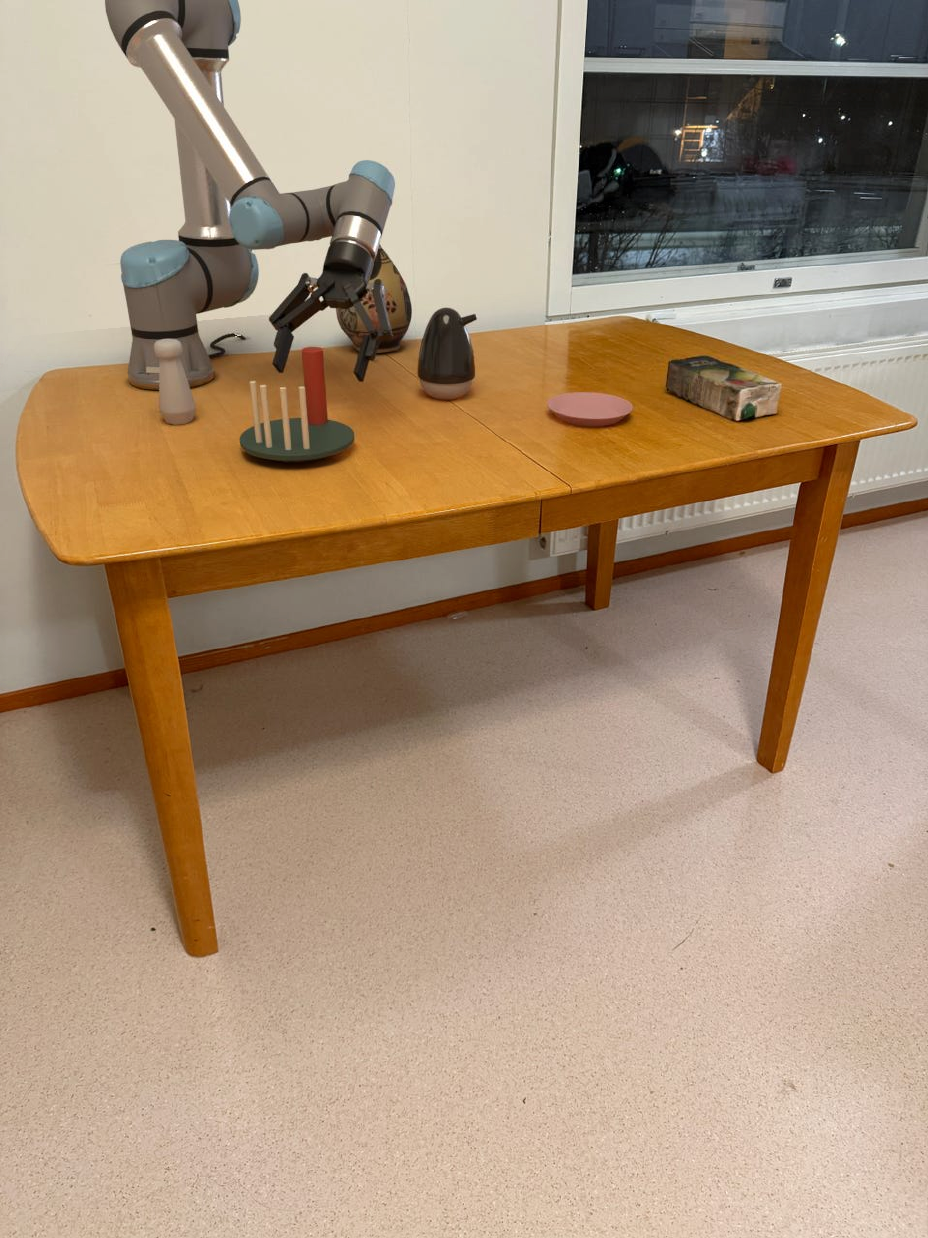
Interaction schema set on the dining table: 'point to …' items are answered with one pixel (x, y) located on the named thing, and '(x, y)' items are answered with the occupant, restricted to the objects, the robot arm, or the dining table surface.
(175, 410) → the salt shaker
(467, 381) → the pump dispenser
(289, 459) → the drying rack
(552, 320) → the dining table surface
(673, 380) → the juice carton
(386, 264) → the ceramic jug
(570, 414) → the plate
